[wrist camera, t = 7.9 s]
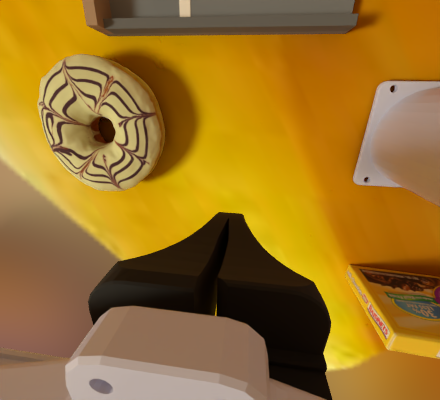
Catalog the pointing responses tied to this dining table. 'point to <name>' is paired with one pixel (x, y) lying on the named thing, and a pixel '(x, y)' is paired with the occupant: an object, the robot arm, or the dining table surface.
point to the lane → (219, 17)
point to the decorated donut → (89, 120)
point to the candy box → (400, 307)
